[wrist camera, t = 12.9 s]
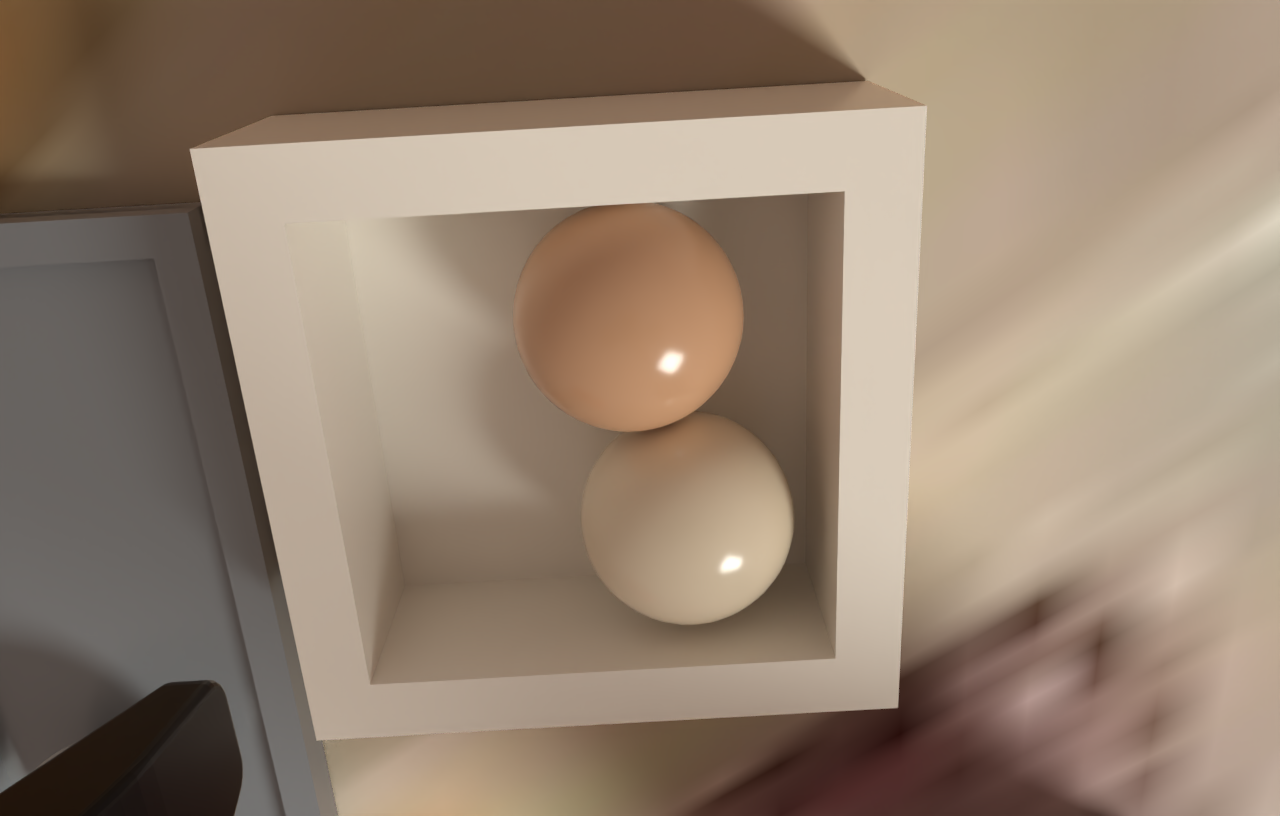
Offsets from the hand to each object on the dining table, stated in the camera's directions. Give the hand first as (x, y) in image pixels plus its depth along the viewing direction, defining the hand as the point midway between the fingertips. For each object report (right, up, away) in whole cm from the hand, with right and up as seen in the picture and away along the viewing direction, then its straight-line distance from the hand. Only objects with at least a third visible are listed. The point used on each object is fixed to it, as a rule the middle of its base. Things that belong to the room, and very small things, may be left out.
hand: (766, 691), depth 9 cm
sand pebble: (-2, +1, +12) cm, 12 cm away
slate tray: (-13, -1, +14) cm, 19 cm away
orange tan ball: (-2, +5, +11) cm, 12 cm away
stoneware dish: (-2, +3, +13) cm, 13 cm away
